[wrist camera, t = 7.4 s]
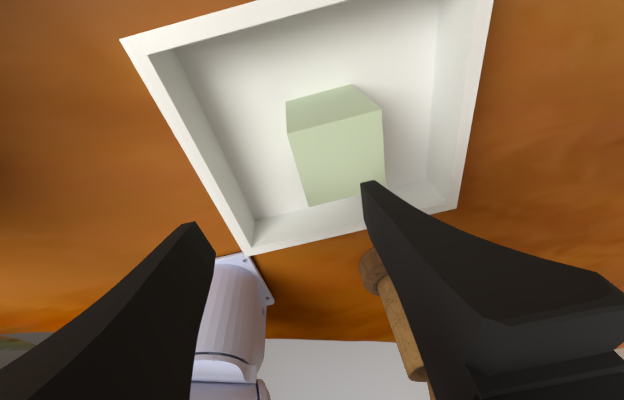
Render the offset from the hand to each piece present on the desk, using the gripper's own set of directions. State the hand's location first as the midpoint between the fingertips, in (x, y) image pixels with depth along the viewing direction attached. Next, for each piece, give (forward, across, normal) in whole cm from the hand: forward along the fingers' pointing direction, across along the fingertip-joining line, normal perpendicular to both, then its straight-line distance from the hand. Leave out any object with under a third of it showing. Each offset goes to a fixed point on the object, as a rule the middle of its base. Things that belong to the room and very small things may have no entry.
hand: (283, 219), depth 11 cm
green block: (+9, -3, 0) cm, 10 cm away
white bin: (+10, -3, 0) cm, 10 cm away
